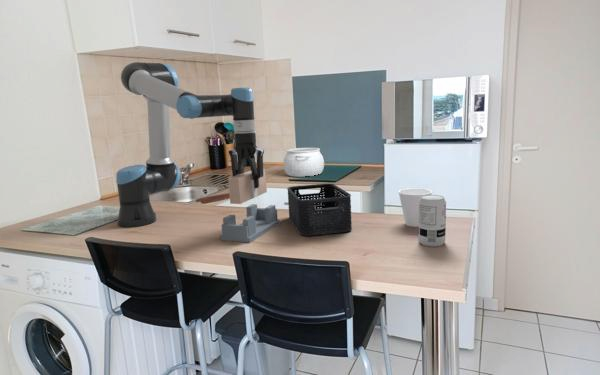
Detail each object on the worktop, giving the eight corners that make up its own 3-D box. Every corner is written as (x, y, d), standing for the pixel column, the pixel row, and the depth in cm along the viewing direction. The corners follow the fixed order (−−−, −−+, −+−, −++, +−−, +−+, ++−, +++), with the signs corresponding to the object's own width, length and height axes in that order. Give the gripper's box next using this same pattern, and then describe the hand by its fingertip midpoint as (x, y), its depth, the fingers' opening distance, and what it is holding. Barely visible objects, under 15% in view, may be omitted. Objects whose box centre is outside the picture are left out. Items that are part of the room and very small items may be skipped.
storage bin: (287, 217, 176) (286, 185, 173) (333, 213, 179) (332, 182, 176) (301, 238, 148) (299, 200, 145) (354, 232, 152) (353, 195, 149)
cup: (409, 218, 166) (409, 186, 163) (437, 223, 157) (438, 190, 155) (392, 225, 158) (392, 192, 155) (421, 230, 149) (421, 196, 147)
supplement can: (414, 239, 140) (415, 195, 137) (439, 238, 141) (439, 193, 138) (423, 248, 132) (424, 201, 129) (449, 246, 133) (450, 199, 130)
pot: (325, 177, 264) (324, 150, 261) (282, 179, 265) (281, 152, 262) (323, 170, 292) (322, 146, 289) (285, 171, 293) (283, 148, 290)
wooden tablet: (205, 205, 207) (205, 201, 207) (194, 202, 214) (194, 199, 214) (249, 195, 225) (249, 192, 224) (238, 192, 232) (238, 189, 231)
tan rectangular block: (230, 203, 148) (228, 178, 146) (257, 191, 166) (256, 168, 164) (240, 204, 146) (238, 178, 144) (266, 192, 164) (265, 168, 162)
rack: (220, 239, 150) (218, 219, 149) (253, 221, 172) (251, 203, 170) (250, 242, 145) (248, 221, 144) (280, 223, 167) (279, 204, 166)
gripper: (218, 133, 151) (223, 197, 156) (261, 132, 145) (265, 199, 149) (229, 131, 158) (234, 193, 163) (271, 130, 151) (274, 195, 156)
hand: (249, 196), depth 156 cm, fingers closed on tan rectangular block, 4 cm apart
